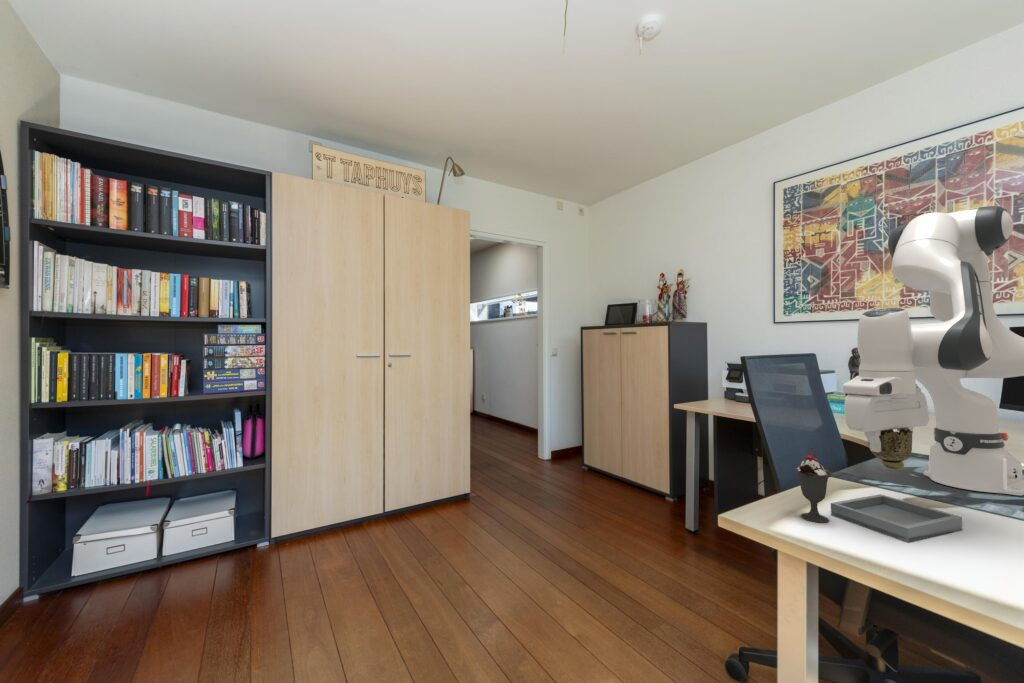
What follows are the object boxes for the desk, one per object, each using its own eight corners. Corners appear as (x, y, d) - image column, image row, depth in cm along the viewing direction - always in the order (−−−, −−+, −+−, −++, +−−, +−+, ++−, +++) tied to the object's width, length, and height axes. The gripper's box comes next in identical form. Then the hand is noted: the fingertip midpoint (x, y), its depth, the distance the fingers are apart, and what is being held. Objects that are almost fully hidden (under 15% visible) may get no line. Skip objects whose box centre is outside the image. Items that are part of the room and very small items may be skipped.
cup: (861, 466, 88) (857, 429, 88) (880, 462, 91) (875, 426, 91) (906, 473, 81) (900, 432, 82) (925, 468, 84) (919, 429, 84)
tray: (881, 505, 95) (880, 494, 95) (962, 530, 81) (961, 516, 81) (831, 514, 90) (830, 503, 90) (908, 542, 77) (907, 528, 77)
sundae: (820, 512, 92) (817, 445, 92) (841, 524, 85) (838, 452, 85) (789, 511, 92) (786, 445, 93) (807, 524, 86) (804, 452, 86)
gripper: (901, 381, 93) (904, 442, 92) (836, 385, 87) (839, 450, 86) (937, 383, 87) (941, 448, 86) (870, 387, 81) (873, 457, 80)
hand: (889, 449), depth 86 cm, fingers closed on cup, 6 cm apart
